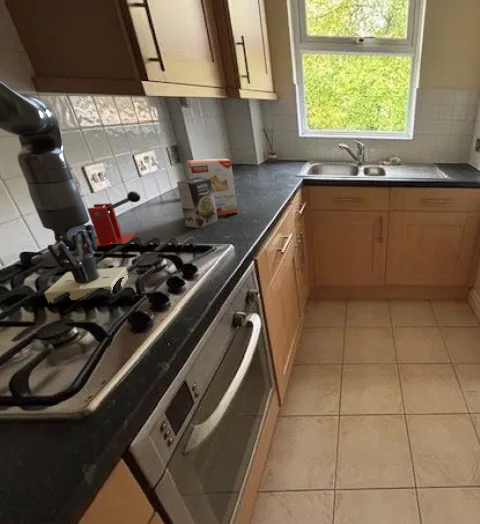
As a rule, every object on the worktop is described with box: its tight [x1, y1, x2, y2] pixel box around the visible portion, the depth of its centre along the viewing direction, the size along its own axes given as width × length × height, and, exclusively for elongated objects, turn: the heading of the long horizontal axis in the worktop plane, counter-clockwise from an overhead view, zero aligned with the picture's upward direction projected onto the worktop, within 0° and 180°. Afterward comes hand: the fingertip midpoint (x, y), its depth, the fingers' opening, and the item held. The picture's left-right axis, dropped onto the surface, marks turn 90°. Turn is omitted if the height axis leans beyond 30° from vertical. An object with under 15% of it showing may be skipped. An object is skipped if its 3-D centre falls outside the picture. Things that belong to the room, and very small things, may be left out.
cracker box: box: [186, 158, 239, 217], centre depth 126 cm, size 14×6×21 cm, turn 126°
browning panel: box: [43, 266, 129, 304], centre depth 76 cm, size 12×10×3 cm
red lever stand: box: [87, 202, 138, 248], centre depth 99 cm, size 11×9×12 cm
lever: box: [102, 190, 141, 213], centre depth 98 cm, size 13×3×3 cm, turn 108°
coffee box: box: [176, 178, 219, 229], centre depth 115 cm, size 9×6×16 cm
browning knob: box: [73, 252, 100, 283], centre depth 74 cm, size 4×4×6 cm
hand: (87, 275), depth 75 cm, fingers closed on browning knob, 4 cm apart
